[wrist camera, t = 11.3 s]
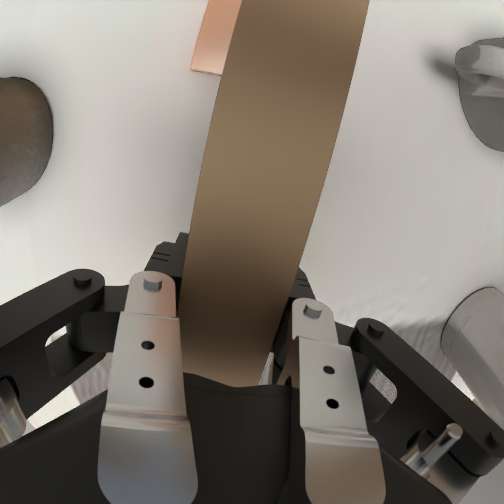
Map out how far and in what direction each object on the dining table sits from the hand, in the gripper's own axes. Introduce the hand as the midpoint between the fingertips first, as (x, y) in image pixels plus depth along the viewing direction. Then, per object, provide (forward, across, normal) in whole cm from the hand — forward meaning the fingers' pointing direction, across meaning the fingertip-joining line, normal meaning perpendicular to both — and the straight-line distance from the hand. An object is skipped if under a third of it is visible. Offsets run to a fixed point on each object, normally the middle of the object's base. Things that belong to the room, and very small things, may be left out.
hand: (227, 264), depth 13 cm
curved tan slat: (+2, 0, 0) cm, 2 cm away
